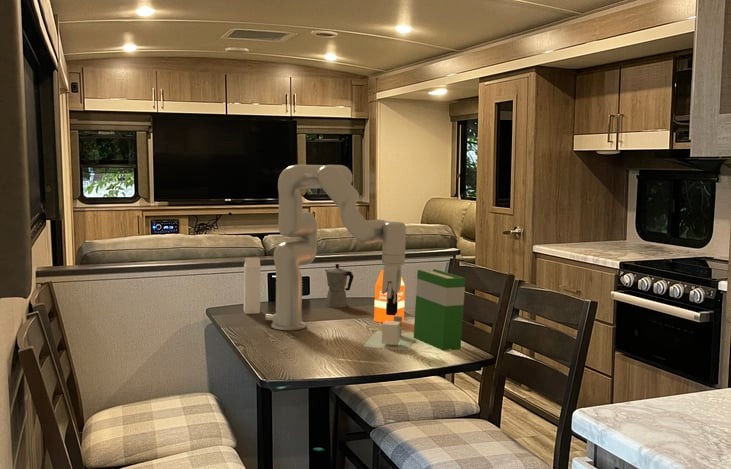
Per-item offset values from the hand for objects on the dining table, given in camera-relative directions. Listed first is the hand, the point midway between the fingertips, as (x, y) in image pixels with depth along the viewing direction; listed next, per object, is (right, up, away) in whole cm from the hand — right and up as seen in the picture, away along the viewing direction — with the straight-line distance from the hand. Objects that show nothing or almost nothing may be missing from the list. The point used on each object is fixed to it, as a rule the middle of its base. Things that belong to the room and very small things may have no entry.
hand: (391, 313), depth 226 cm
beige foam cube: (0, -10, +1) cm, 10 cm away
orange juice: (0, -8, +37) cm, 37 cm away
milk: (-55, -5, +48) cm, 72 cm away
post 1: (0, -11, +1) cm, 11 cm away
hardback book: (+16, -11, +6) cm, 20 cm away
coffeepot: (-20, -4, +64) cm, 67 cm away
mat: (0, -10, +8) cm, 13 cm away
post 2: (+2, -9, +14) cm, 17 cm away
